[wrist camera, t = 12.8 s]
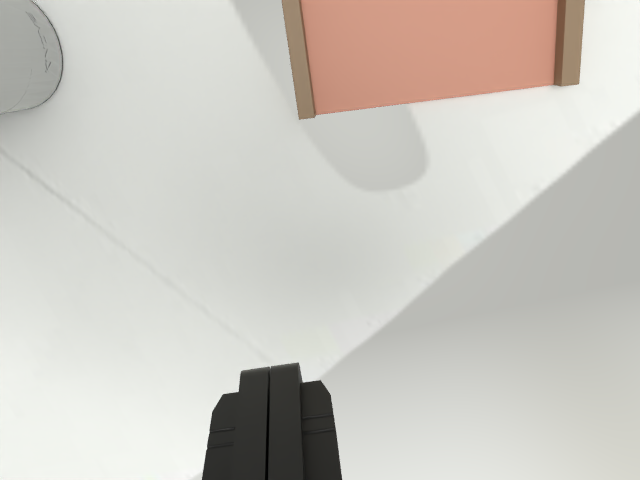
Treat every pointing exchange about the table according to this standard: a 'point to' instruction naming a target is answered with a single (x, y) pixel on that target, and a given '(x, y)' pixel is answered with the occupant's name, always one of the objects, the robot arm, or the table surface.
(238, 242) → the table surface
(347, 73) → the tray
